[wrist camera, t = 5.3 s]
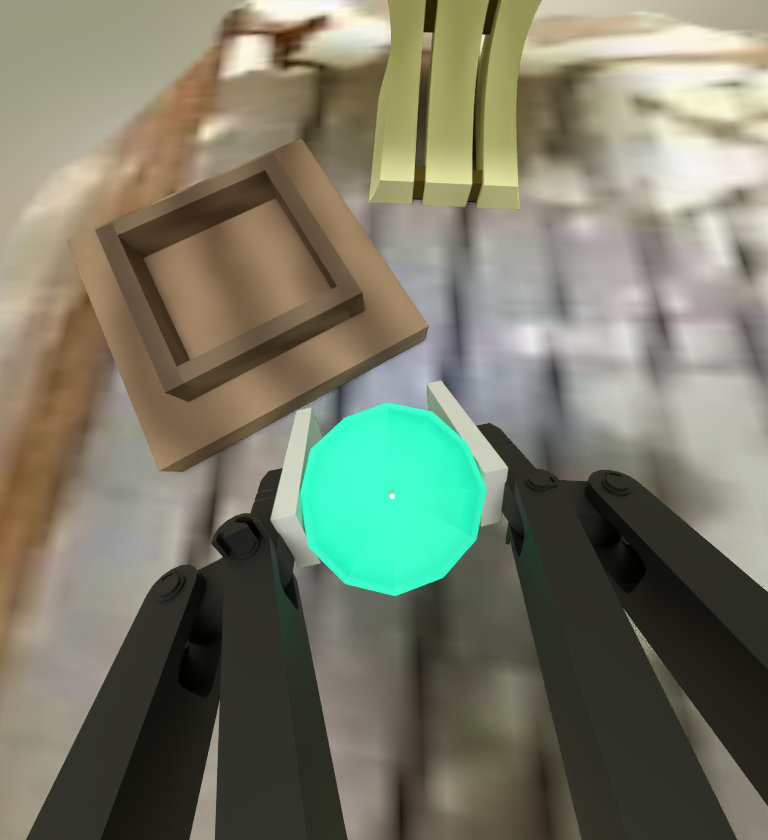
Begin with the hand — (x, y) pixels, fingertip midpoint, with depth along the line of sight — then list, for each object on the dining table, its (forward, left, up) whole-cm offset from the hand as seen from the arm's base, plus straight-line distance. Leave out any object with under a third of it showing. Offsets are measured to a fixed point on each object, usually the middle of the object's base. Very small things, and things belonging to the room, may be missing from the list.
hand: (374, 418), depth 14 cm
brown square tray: (+3, -15, -5) cm, 16 cm away
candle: (+1, +3, -6) cm, 7 cm away
